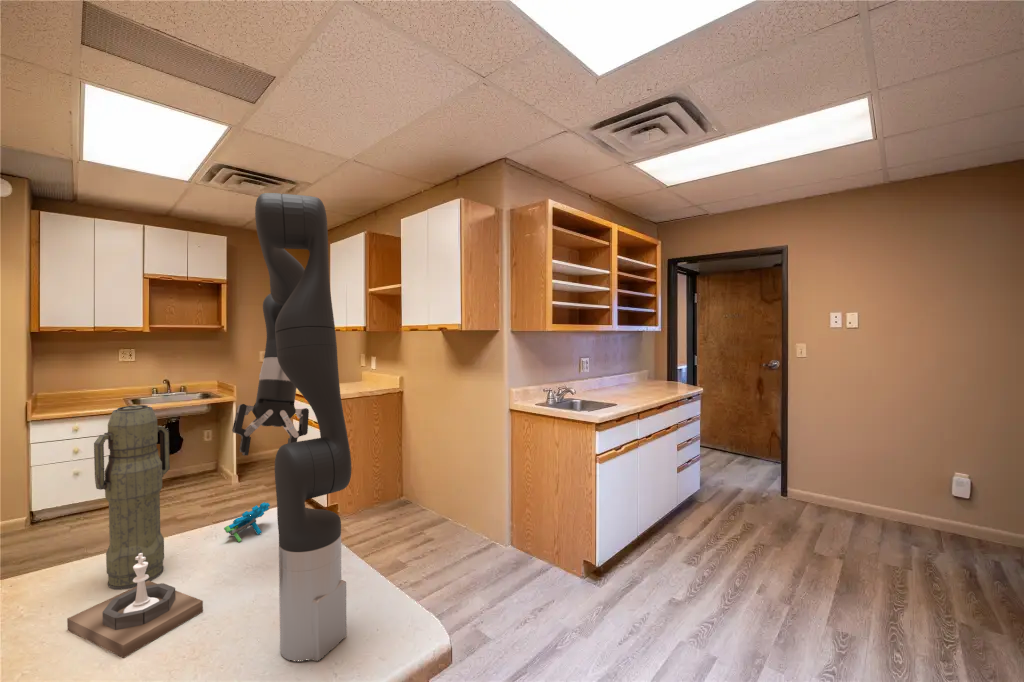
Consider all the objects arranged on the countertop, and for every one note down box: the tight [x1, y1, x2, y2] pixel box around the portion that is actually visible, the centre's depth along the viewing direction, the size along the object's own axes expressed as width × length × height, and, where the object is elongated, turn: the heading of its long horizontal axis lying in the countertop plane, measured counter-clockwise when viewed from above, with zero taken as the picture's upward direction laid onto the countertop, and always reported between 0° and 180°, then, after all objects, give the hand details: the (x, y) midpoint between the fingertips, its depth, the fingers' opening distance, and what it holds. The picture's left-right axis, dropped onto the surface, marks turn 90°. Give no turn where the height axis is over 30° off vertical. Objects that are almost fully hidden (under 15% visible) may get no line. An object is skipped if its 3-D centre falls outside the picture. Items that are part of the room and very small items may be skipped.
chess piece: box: [123, 553, 159, 613], centre depth 76 cm, size 5×5×10 cm
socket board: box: [66, 581, 204, 659], centre depth 76 cm, size 16×12×4 cm
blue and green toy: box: [223, 501, 271, 543], centre depth 108 cm, size 11×6×10 cm
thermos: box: [93, 404, 171, 590], centre depth 89 cm, size 9×12×35 cm
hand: (267, 455), depth 94 cm, fingers open, 8 cm apart
